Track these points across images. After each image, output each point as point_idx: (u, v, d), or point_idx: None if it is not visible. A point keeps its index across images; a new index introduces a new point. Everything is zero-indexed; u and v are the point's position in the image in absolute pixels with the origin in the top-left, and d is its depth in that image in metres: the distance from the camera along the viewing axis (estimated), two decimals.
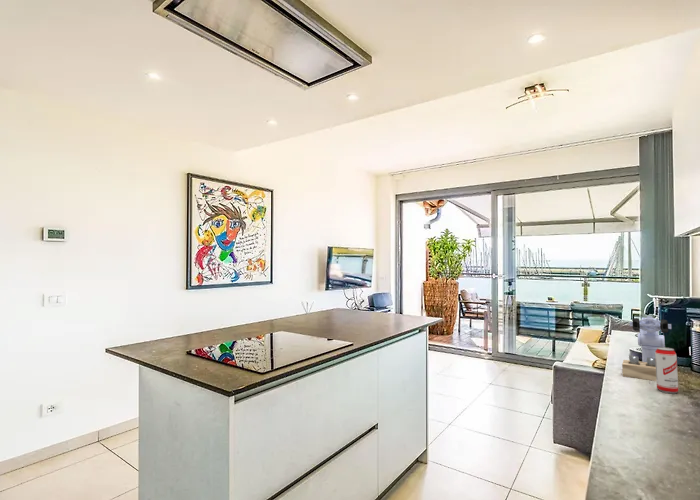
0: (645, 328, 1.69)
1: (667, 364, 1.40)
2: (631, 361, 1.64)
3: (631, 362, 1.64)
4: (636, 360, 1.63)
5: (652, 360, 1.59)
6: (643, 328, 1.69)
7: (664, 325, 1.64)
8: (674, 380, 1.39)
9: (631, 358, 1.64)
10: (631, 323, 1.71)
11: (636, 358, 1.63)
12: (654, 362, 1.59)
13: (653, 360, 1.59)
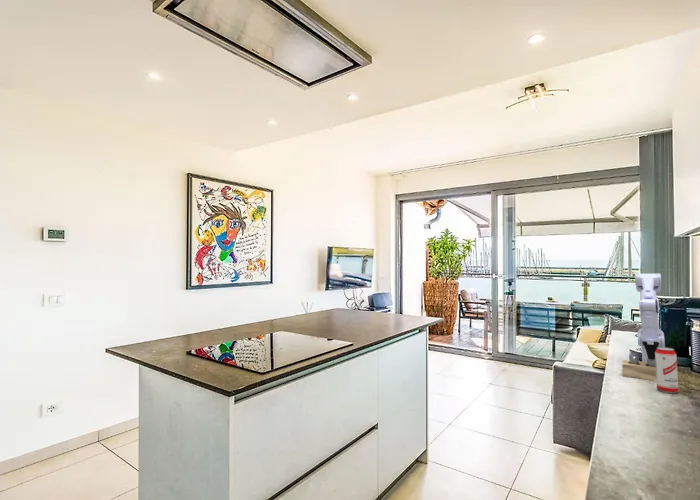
0: None
1: (667, 364, 1.40)
2: (631, 361, 1.64)
3: (631, 362, 1.64)
4: (636, 360, 1.63)
5: (652, 361, 1.59)
6: None
7: (649, 344, 1.60)
8: (674, 380, 1.39)
9: (631, 358, 1.64)
10: None
11: (636, 358, 1.63)
12: (654, 363, 1.59)
13: (653, 361, 1.59)
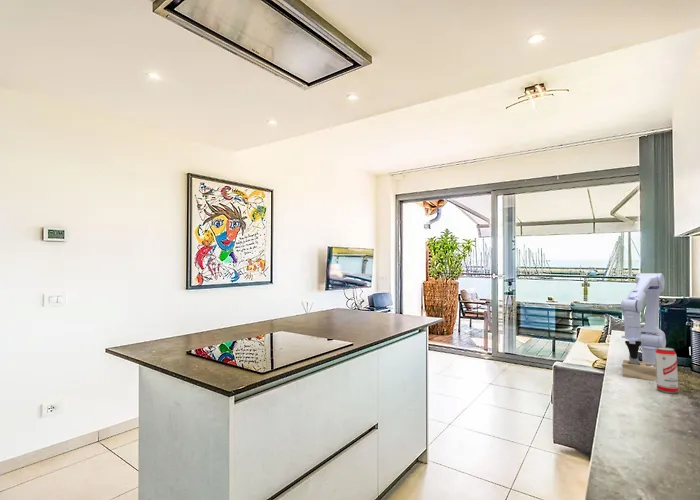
0: None
1: (667, 364, 1.40)
2: (631, 363, 1.64)
3: None
4: (636, 362, 1.63)
5: None
6: None
7: (632, 343, 1.64)
8: (674, 380, 1.39)
9: (631, 360, 1.64)
10: None
11: (636, 360, 1.63)
12: None
13: None
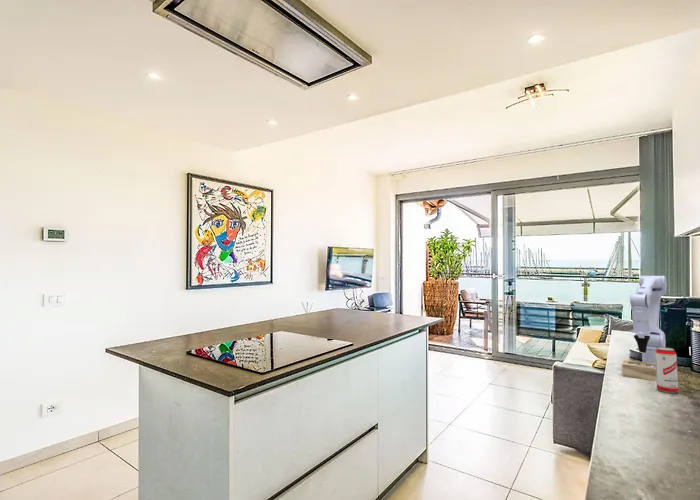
0: None
1: (667, 364, 1.40)
2: None
3: None
4: None
5: None
6: None
7: (640, 337, 1.65)
8: (674, 380, 1.39)
9: None
10: None
11: None
12: None
13: None
